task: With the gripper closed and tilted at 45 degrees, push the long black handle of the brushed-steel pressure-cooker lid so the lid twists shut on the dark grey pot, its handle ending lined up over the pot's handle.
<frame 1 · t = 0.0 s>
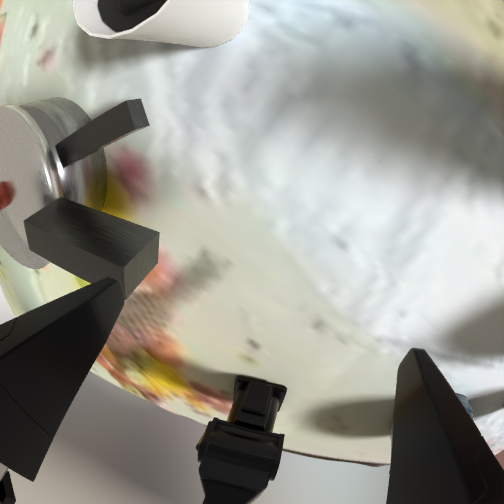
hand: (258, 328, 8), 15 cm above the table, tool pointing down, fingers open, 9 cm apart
pot: (57, 166, 25), on the table
lid: (21, 209, 18), point 8 cm above the table, hinge at -30.0°
white cup: (210, 13, 15), on the table
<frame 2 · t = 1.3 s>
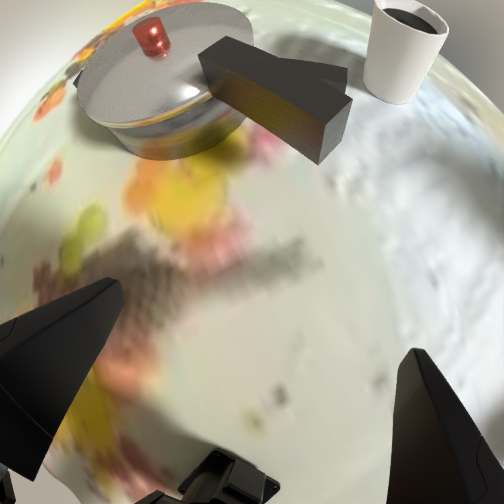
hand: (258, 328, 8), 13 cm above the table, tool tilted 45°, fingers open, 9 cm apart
pot: (181, 98, 26), on the table
lid: (186, 53, 17), point 8 cm above the table, hinge at -30.0°
white cup: (388, 85, 24), on the table
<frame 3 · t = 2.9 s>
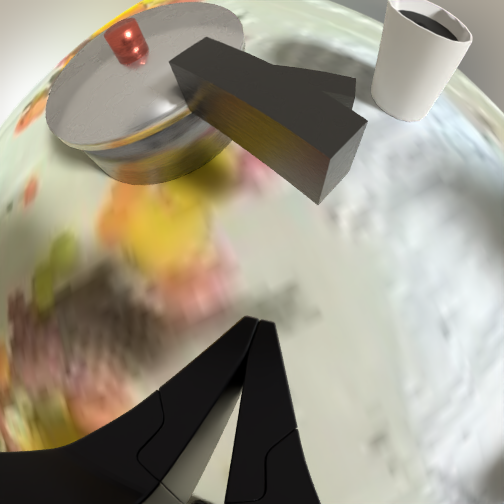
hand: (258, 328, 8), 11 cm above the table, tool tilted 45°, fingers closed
pot: (164, 111, 23), on the table
lid: (162, 59, 14), point 8 cm above the table, hinge at -30.0°
white cup: (399, 99, 22), on the table
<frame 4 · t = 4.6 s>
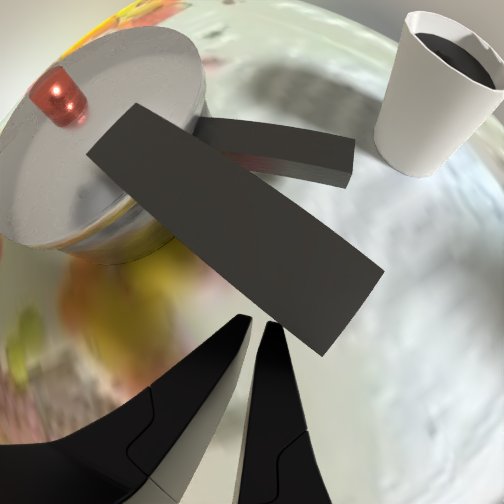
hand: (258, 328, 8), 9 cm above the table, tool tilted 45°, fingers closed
pot: (123, 167, 20), on the table
lid: (95, 126, 11), point 8 cm above the table, hinge at -26.1°, touching gripper
white cup: (408, 145, 19), on the table
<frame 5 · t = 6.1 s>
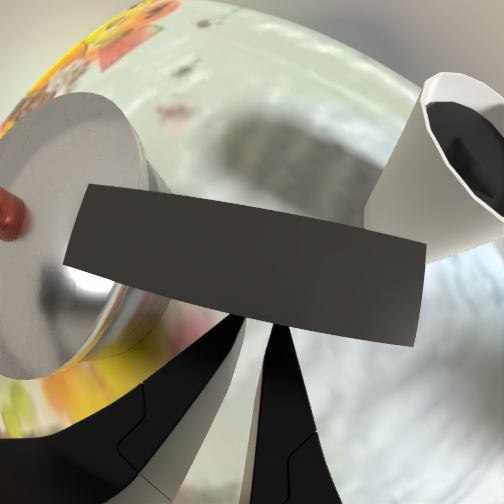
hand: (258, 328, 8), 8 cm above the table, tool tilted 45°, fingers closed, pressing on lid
pot: (85, 251, 18), on the table
lid: (48, 226, 10), point 8 cm above the table, hinge at 0.0°, touching gripper
white cup: (403, 224, 17), on the table
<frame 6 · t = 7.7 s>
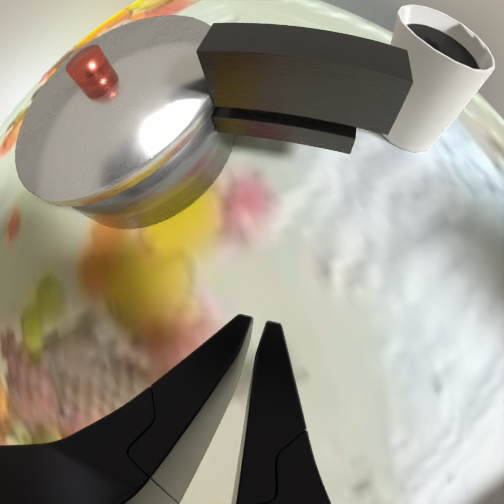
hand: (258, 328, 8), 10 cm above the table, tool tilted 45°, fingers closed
pot: (144, 142, 22), on the table
lid: (154, 69, 13), point 8 cm above the table, hinge at 0.3°
white cup: (404, 124, 20), on the table
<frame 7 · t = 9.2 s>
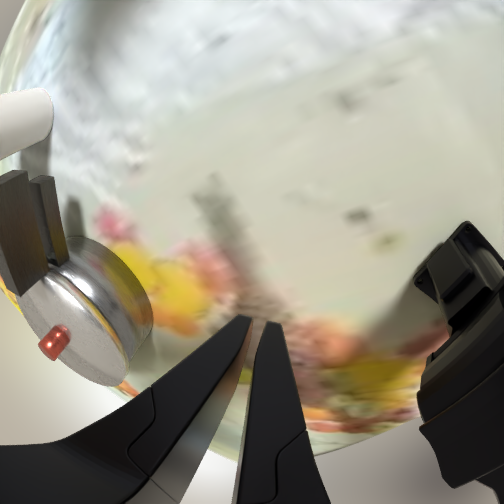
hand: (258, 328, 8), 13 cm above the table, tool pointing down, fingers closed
pot: (99, 293, 31), on the table
lid: (41, 308, 21), point 8 cm above the table, hinge at 0.3°
white cup: (39, 114, 21), on the table
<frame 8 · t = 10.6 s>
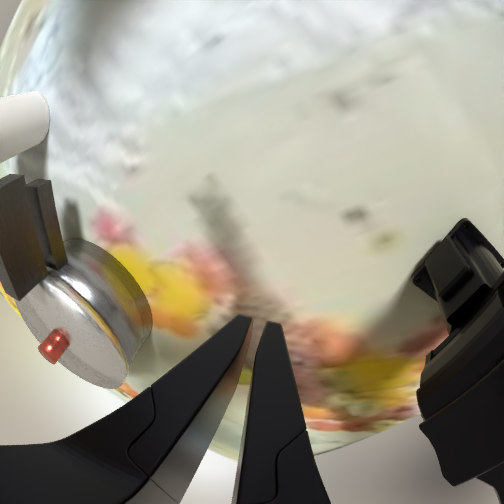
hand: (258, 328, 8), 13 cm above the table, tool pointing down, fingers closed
pot: (98, 295, 31), on the table
lid: (40, 312, 21), point 8 cm above the table, hinge at 0.3°
white cup: (35, 117, 21), on the table
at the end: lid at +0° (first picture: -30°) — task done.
